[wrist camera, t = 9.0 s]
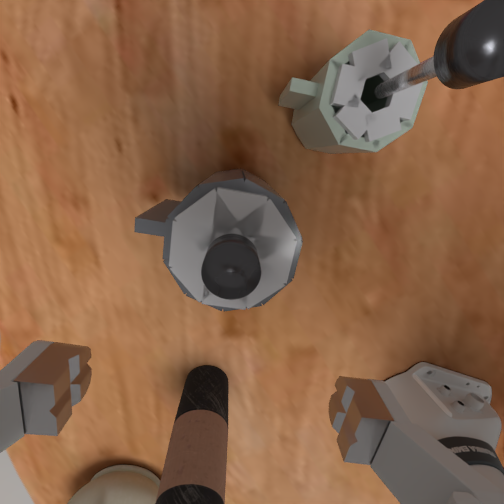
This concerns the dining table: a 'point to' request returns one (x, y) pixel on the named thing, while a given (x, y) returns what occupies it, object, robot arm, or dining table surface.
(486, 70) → the plunger small
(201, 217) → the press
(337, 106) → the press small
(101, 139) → the dining table surface
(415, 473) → the robot arm
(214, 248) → the plunger
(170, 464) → the travel mug
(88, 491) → the kettle
